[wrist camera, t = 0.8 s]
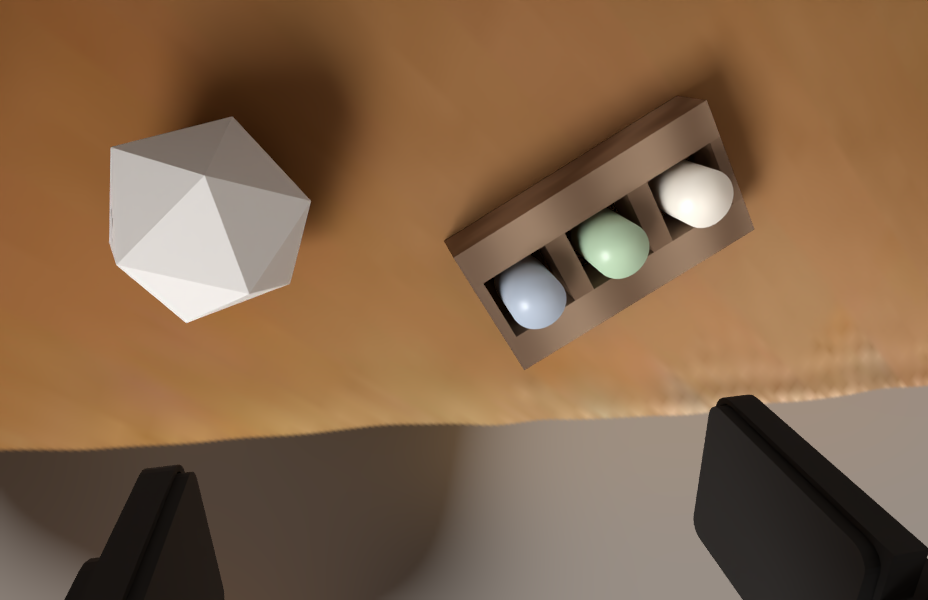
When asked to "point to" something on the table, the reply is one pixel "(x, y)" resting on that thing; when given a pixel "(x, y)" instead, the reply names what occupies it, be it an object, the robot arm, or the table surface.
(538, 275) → the slate blue button
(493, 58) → the table surface
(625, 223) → the sage button
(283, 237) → the die
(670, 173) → the cream button
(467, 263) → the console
